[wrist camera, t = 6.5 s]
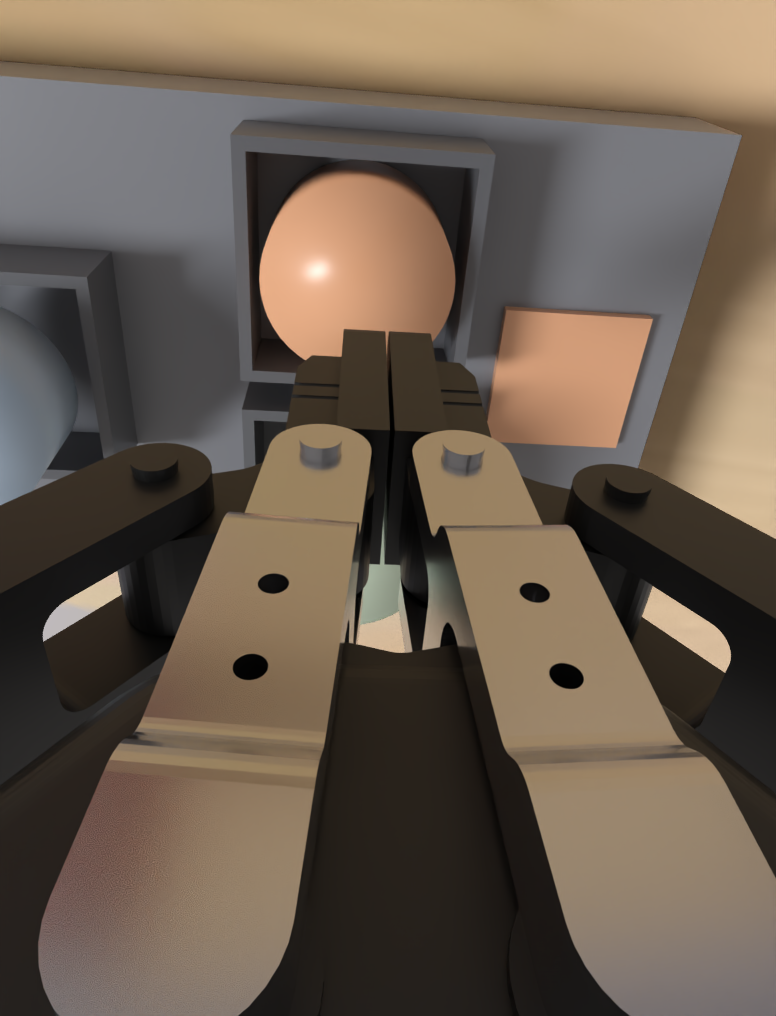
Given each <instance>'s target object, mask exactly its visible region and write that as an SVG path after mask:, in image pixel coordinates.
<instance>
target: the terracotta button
mask: <svg viewBox="0 0 776 1016" xmlns="http://www.w3.org/2000/svg"><path fill="white" fill-rule="evenodd" d="M259 282H260V292H261V297H262V301H263V305H264V308H265V311H266V314H267V316H268V318H269V320H270V322H271V324H272V326H273V328H274V329H275V331H276V332H277V334H278V335H279V337H280V338H281V339H282V340H283V341H284V342H285V344H286V345H287V346H288V347H289V348H290V349H291V350H293V351H294V352H295V353H296V354H297V355H298V356H300V357H301V358H303V359H304V360H307V359H308V358H309V357H310V356H312V355H317V356H337V357H342V344H343V331H344V329H355V330H374V331H385V333H386V354H387V342H388V333H389V331H395V332H414V333H430V334H431V337H432V342H433V340H434V339H435V338H436V337H437V335H438V334H439V332H440V331H441V329H442V328H443V326H444V324H445V322H446V320H447V318H448V315H449V312H450V309H451V306H452V303H453V297H454V292H455V267H454V262H453V257H452V253H451V250H450V247H449V244H448V241H447V239H446V236H445V233H444V230H443V227H442V225H441V222H440V219H439V216H438V214H437V212H436V210H435V208H434V206H433V204H432V202H431V201H430V199H429V198H428V196H427V195H426V193H425V192H424V191H423V190H422V189H421V188H420V187H419V186H418V185H417V184H416V183H415V182H414V181H413V180H411V179H410V178H409V177H408V176H406V175H405V174H403V173H402V172H400V171H398V170H396V169H394V168H392V167H390V166H388V165H385V164H382V163H378V162H375V161H368V160H345V161H338V162H334V163H331V164H327V165H325V166H323V167H320V168H318V169H316V170H314V171H313V172H311V173H310V174H308V175H306V176H305V177H304V178H303V179H301V180H300V181H299V182H298V183H297V184H296V185H295V186H294V187H293V188H292V189H291V190H290V191H289V193H288V194H287V195H286V197H285V198H284V200H283V201H282V203H281V205H280V207H279V209H278V211H277V213H276V216H275V219H274V221H273V224H272V227H271V230H270V232H269V235H268V238H267V241H266V244H265V247H264V250H263V253H262V258H261V263H260V275H259Z"/></svg>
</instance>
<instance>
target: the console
mask: <svg viewBox="0 0 776 1016" xmlns="http://www.w3.org/2000/svg"><path fill="white" fill-rule="evenodd" d="M741 137H742V135H740V134H737V133H735V132H732V131H729V130H727V129H724V128H721V127H719V126H716V125H713V124H711V123H708V122H706V121H703V120H700V119H698V118H694V117H682V116H670V115H657V114H645V113H633V112H621V111H608V110H596V109H584V108H571V107H559V106H547V105H535V104H522V103H510V102H498V101H485V100H473V99H461V98H449V97H436V96H424V95H412V94H400V93H387V92H375V91H363V90H350V89H338V88H326V87H314V86H301V85H289V84H277V83H264V82H252V81H240V80H228V79H215V78H203V77H191V76H179V75H166V74H154V73H142V72H129V71H117V70H105V69H93V68H80V67H68V66H56V65H43V64H31V63H19V62H7V61H0V307H2V308H4V309H7V310H9V311H11V312H13V313H15V314H17V315H18V316H20V317H22V318H23V319H25V320H27V321H28V322H29V323H31V324H32V325H33V326H35V327H36V328H37V329H39V330H40V331H41V332H42V333H43V334H44V335H45V336H46V337H47V338H48V339H49V340H50V341H51V342H52V343H53V344H54V345H55V346H56V348H57V349H58V350H59V352H60V353H61V354H62V356H63V357H64V359H65V361H66V362H67V364H68V366H69V368H70V370H71V372H72V375H73V377H74V380H75V384H76V388H77V394H78V413H77V417H76V421H75V424H74V426H73V429H72V431H71V432H70V434H69V435H68V437H67V439H66V440H65V442H64V443H63V445H62V446H61V448H60V449H59V451H58V452H57V454H56V456H55V457H54V459H53V460H52V462H51V463H50V465H49V466H48V468H47V469H46V471H45V472H44V474H43V476H42V477H41V479H40V480H39V482H38V483H37V485H36V486H35V488H34V489H33V490H36V489H38V488H40V487H42V486H44V485H47V484H49V483H51V482H53V481H56V480H58V479H60V478H62V477H65V476H67V475H69V474H71V473H73V472H76V471H78V470H80V469H82V468H85V467H87V466H89V465H91V464H94V463H96V462H98V461H100V460H103V459H105V458H107V457H109V456H111V455H114V454H116V453H118V452H120V451H123V450H126V449H128V448H131V447H135V446H139V445H144V444H152V443H175V444H181V445H185V446H189V447H192V448H194V449H197V450H199V451H200V452H202V453H203V454H204V455H206V456H207V457H208V459H209V460H210V462H211V466H212V474H213V473H220V472H227V471H234V470H240V469H245V468H248V467H252V466H255V465H257V464H260V463H262V462H264V459H265V456H266V454H267V451H268V448H269V445H270V443H271V441H272V440H273V439H274V438H275V437H276V436H277V435H278V434H280V433H281V432H283V431H285V429H286V424H287V418H288V413H289V408H290V403H291V398H292V392H293V387H294V381H295V376H296V371H297V367H298V366H300V365H301V364H302V363H303V362H304V361H306V360H304V359H303V358H301V357H300V356H298V355H297V354H296V353H295V352H294V351H293V350H291V349H290V348H289V347H288V346H287V345H286V344H285V342H284V341H283V340H282V339H281V338H280V337H279V335H278V334H277V332H276V331H275V329H274V328H273V326H272V324H271V322H270V320H269V318H268V316H267V314H266V311H265V308H264V305H263V301H262V297H261V292H260V282H259V275H260V263H261V258H262V253H263V250H264V247H265V244H266V241H267V238H268V235H269V232H270V230H271V227H272V224H273V221H274V219H275V216H276V213H277V211H278V209H279V207H280V205H281V203H282V201H283V200H284V198H285V197H286V195H287V194H288V193H289V191H290V190H291V189H292V188H293V187H294V186H295V185H296V184H297V183H298V182H299V181H300V180H301V179H303V178H304V177H305V176H306V175H308V174H310V173H311V172H313V171H314V170H316V169H318V168H320V167H323V166H325V165H327V164H331V163H334V162H338V161H345V160H368V161H375V162H378V163H382V164H385V165H388V166H390V167H392V168H394V169H396V170H398V171H400V172H402V173H403V174H405V175H406V176H408V177H409V178H410V179H411V180H413V181H414V182H415V183H416V184H417V185H418V186H419V187H420V188H421V189H422V190H423V191H424V192H425V193H426V195H427V196H428V198H429V199H430V201H431V202H432V204H433V206H434V208H435V210H436V212H437V214H438V216H439V219H440V222H441V225H442V227H443V230H444V233H445V236H446V239H447V241H448V244H449V247H450V250H451V253H452V257H453V262H454V267H455V292H454V297H453V303H452V306H451V309H450V312H449V315H448V318H447V320H446V322H445V324H444V326H443V328H442V329H441V331H440V332H439V334H438V335H437V337H436V338H435V339H434V340H433V342H432V343H433V349H434V354H435V360H436V361H437V362H456V363H460V364H462V365H463V366H464V367H465V368H466V369H467V370H468V371H469V372H471V373H472V374H473V375H474V376H475V378H476V382H477V386H478V389H479V394H480V397H481V401H482V407H483V408H484V412H485V415H486V419H487V423H488V426H489V430H490V434H491V438H493V439H495V440H496V441H498V442H500V443H501V444H503V445H504V446H505V447H506V448H507V449H508V450H509V451H510V453H511V455H512V457H513V459H514V461H515V463H516V466H517V468H518V470H519V472H520V475H521V476H524V477H526V478H528V479H531V480H534V481H537V482H541V483H545V484H549V485H553V486H558V487H562V488H566V489H571V485H572V481H573V478H574V476H575V474H576V473H577V472H578V471H580V470H582V469H583V468H586V467H588V466H592V465H597V464H619V465H626V466H631V467H635V468H638V466H639V463H640V460H641V456H642V453H643V450H644V447H645V444H646V440H647V437H648V434H649V431H650V428H651V425H652V421H653V418H654V415H655V412H656V409H657V405H658V402H659V399H660V396H661V393H662V389H663V386H664V383H665V380H666V377H667V373H668V370H669V367H670V364H671V361H672V357H673V354H674V351H675V348H676V345H677V341H678V338H679V335H680V332H681V329H682V325H683V322H684V319H685V316H686V313H687V310H688V306H689V303H690V300H691V297H692V294H693V290H694V287H695V284H696V281H697V278H698V274H699V271H700V268H701V265H702V262H703V258H704V255H705V252H706V249H707V246H708V242H709V239H710V236H711V233H712V230H713V226H714V223H715V220H716V217H717V214H718V210H719V207H720V204H721V201H722V198H723V195H724V191H725V188H726V185H727V182H728V179H729V175H730V172H731V169H732V166H733V163H734V159H735V156H736V153H737V150H738V147H739V143H740V140H741ZM33 490H32V491H33Z"/></svg>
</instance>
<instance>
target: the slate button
mask: <svg viewBox="0 0 776 1016" xmlns="http://www.w3.org/2000/svg"><path fill="white" fill-rule="evenodd" d="M77 413H78V394H77V388H76V384H75V380H74V377H73V375H72V372H71V370H70V368H69V366H68V364H67V362H66V361H65V359H64V357H63V356H62V354H61V353H60V352H59V350H58V349H57V348H56V346H55V345H54V344H53V343H52V342H51V341H50V340H49V339H48V338H47V337H46V336H45V335H44V334H43V333H42V332H41V331H40V330H39V329H37V328H36V327H35V326H33V325H32V324H31V323H29V322H28V321H27V320H25V319H23V318H22V317H20V316H18V315H17V314H15V313H13V312H11V311H9V310H7V309H4V308H2V307H0V505H2V504H4V503H6V502H9V501H11V500H13V499H15V498H18V497H20V496H22V495H24V494H27V493H29V492H31V491H32V490H33V489H34V488H35V486H36V485H37V483H38V482H39V480H40V479H41V477H42V476H43V474H44V472H45V471H46V469H47V468H48V466H49V465H50V463H51V462H52V460H53V459H54V457H55V456H56V454H57V452H58V451H59V449H60V448H61V446H62V445H63V443H64V442H65V440H66V439H67V437H68V435H69V434H70V432H71V431H72V429H73V426H74V424H75V421H76V417H77Z"/></svg>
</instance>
